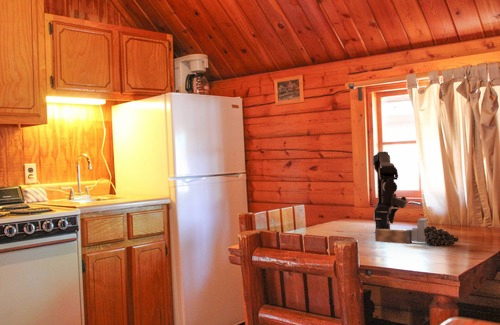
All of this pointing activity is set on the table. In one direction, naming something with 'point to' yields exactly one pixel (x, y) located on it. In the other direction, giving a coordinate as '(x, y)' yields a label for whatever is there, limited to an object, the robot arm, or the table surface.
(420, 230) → the grey block with legs
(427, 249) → the table surface
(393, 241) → the rail
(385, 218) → the robot arm
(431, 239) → the fruit
